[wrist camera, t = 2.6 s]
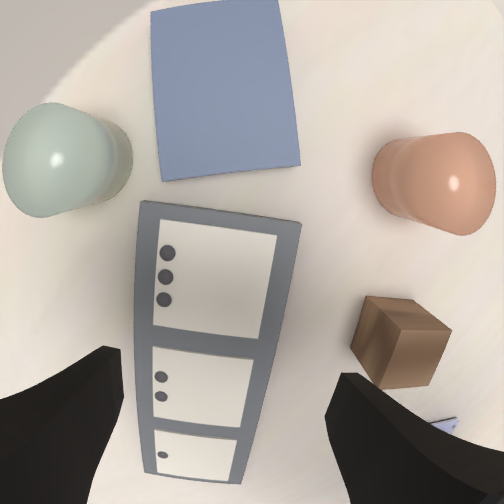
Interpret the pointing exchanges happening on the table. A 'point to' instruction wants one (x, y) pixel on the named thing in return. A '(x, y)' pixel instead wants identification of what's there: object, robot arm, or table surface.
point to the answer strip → (206, 334)
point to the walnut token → (398, 342)
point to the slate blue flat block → (222, 89)
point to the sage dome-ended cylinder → (64, 160)
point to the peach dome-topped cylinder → (437, 181)
